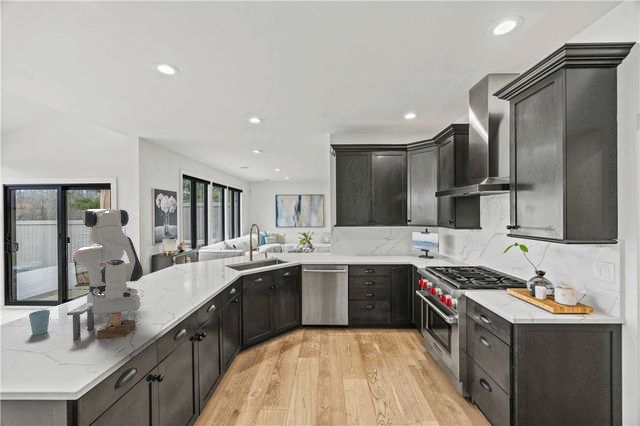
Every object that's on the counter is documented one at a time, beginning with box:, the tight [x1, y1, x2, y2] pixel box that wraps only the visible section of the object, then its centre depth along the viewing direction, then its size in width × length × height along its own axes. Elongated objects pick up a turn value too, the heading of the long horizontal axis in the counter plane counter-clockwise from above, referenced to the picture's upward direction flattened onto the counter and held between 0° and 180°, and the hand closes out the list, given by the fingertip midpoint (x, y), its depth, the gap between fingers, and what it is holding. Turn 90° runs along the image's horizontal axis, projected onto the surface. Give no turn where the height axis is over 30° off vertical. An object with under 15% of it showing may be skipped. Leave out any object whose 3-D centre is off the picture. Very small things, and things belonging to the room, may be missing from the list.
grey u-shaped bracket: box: [66, 302, 95, 341], centre depth 147 cm, size 15×6×13 cm, turn 12°
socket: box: [96, 319, 137, 340], centre depth 147 cm, size 12×12×4 cm
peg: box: [112, 312, 122, 327], centre depth 147 cm, size 3×3×10 cm
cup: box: [28, 309, 51, 336], centre depth 149 cm, size 8×8×10 cm
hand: (117, 320), depth 147 cm, fingers open, 8 cm apart
